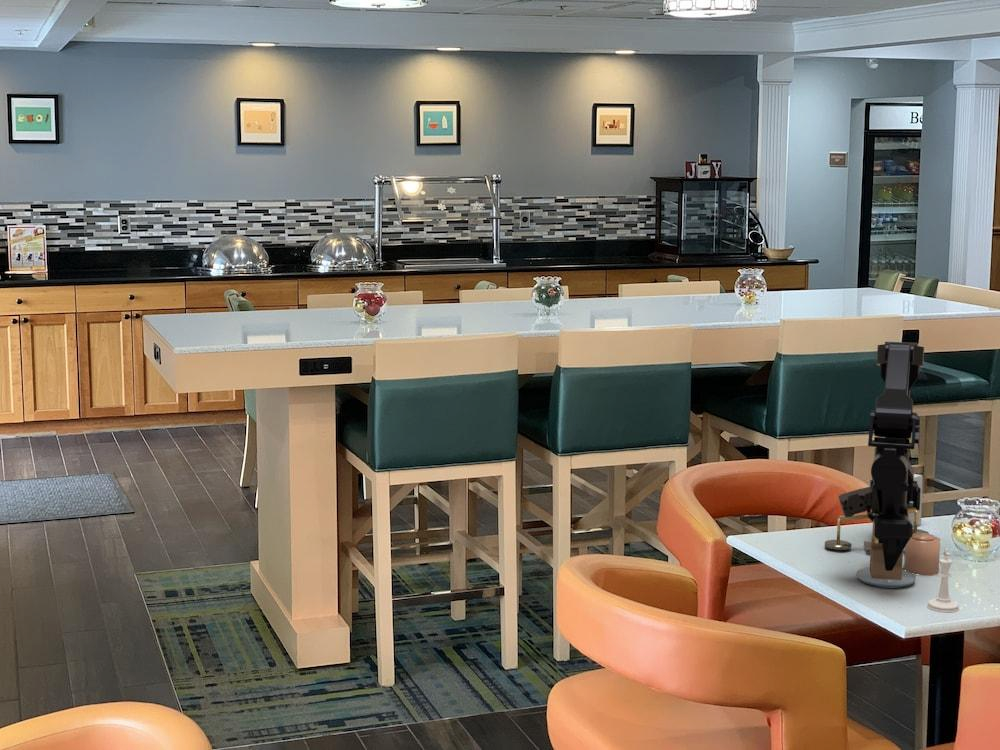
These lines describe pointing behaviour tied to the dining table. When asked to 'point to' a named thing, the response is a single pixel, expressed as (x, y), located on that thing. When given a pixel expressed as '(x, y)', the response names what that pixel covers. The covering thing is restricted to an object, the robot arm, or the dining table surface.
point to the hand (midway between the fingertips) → (886, 562)
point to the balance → (846, 545)
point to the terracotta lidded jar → (922, 554)
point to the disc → (886, 583)
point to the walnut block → (883, 564)
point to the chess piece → (944, 588)
